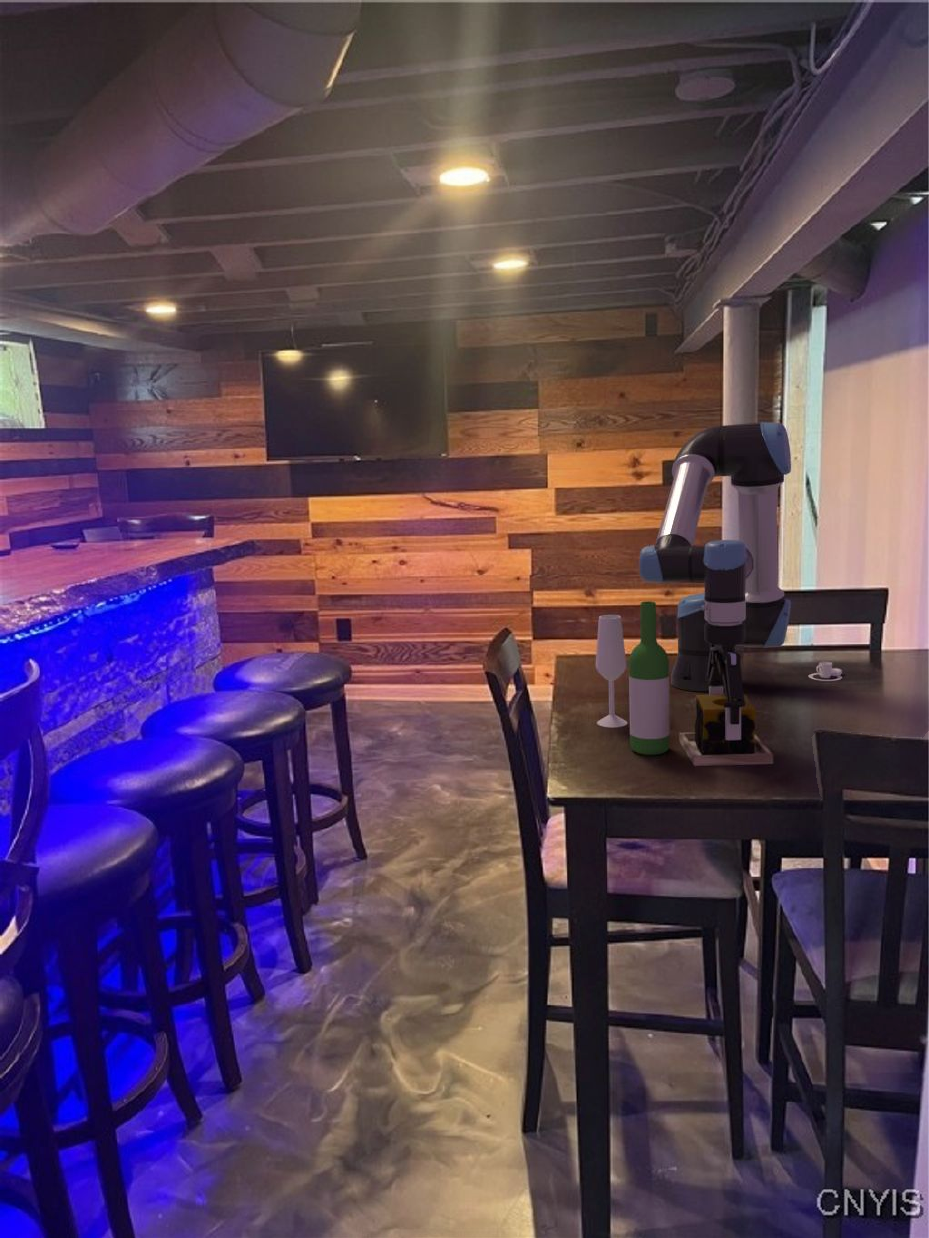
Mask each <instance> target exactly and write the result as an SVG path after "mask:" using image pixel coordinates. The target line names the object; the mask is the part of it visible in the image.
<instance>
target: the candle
mask: <svg viewBox="0 0 929 1238" xmlns="http://www.w3.org/2000/svg"><path fill="white" fill-rule="evenodd" d="M748 698H749V697H748V696H747V695H746V694H744V701H745V706H744V707H741V740H726V739H725V708H724V707H723V706H724V703H727V700H726V694H724V695H709V694H696V695H695V702H696V703H695V709H696V718H695V722H694V723H695V724H694V732H695V742H696V746H697V748H698V750H699V752H700V753H701V755H727V754H755V743H754V735H756V732H755V730H756V712H757V710H756V707H755V706H754V705H753V704H752V703H751V701H750V700H749V699H748ZM734 700H737V699H734Z"/></svg>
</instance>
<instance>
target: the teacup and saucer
mask: <svg viewBox="0 0 929 1238" xmlns="http://www.w3.org/2000/svg"><path fill="white" fill-rule="evenodd" d="M815 669H816V670H815V671H816V672H814V673H811V674H809V675H808V678H809V679H812V680H815V681H821V682H833V681H834V682H835V681H840V680H841V679H843V676H841V675H842V674H843V670H842V669H841V668H837V667H835V668H833V663H832V662H831V661H830V662H829V661H820V662H819V663H818V665H817V666H816V668H815ZM817 675H819V677H820V678H822V679H819V678H815V677H814V676H817ZM831 677H837V678H834V679H830V678H831Z"/></svg>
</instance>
